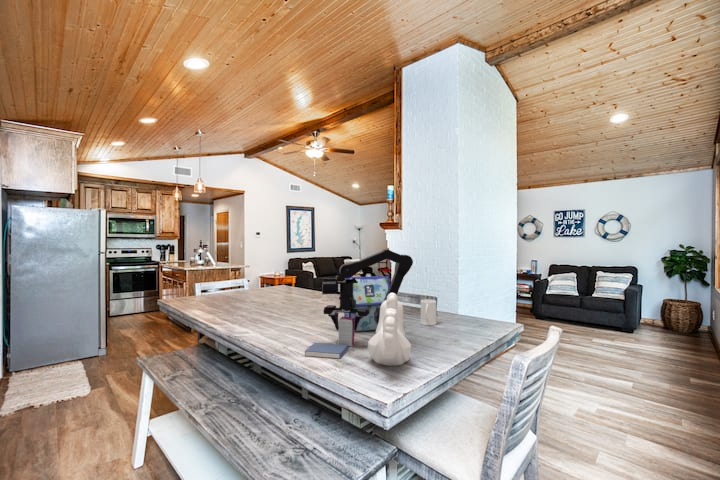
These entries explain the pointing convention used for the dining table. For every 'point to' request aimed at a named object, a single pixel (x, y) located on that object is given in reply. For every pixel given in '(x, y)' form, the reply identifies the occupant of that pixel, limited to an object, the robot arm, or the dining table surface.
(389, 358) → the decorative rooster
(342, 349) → the notebook
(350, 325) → the supplement box
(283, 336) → the dining table surface
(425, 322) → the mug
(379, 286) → the lunch bag
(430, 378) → the dining table surface
